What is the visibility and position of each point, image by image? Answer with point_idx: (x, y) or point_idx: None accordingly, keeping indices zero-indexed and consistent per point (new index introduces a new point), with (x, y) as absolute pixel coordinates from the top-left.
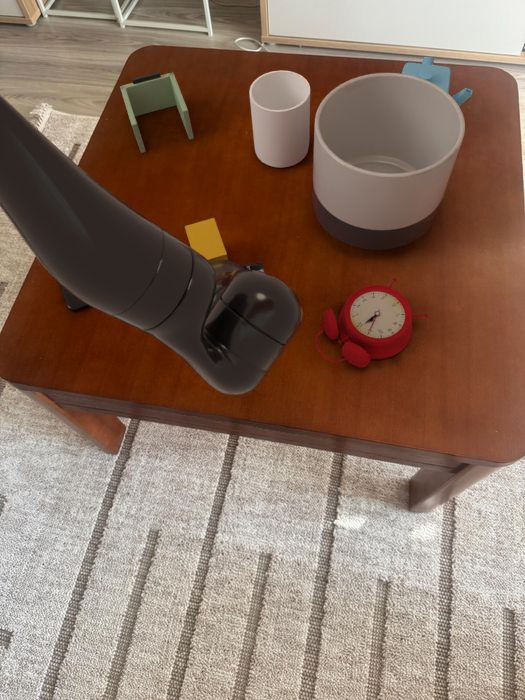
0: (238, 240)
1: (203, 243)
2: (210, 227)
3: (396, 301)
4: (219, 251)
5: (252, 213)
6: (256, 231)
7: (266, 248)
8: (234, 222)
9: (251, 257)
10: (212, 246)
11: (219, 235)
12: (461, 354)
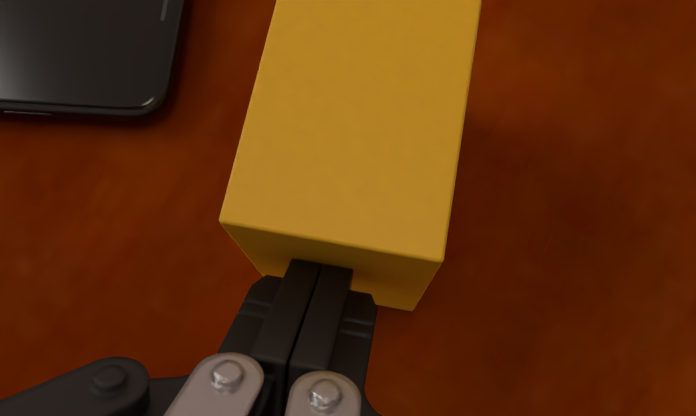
0: (538, 112)
1: (337, 103)
2: (434, 16)
3: None
4: (405, 215)
5: (657, 14)
6: (638, 108)
7: (648, 217)
8: (560, 19)
9: (558, 227)
10: (380, 153)
11: (461, 98)
12: None
